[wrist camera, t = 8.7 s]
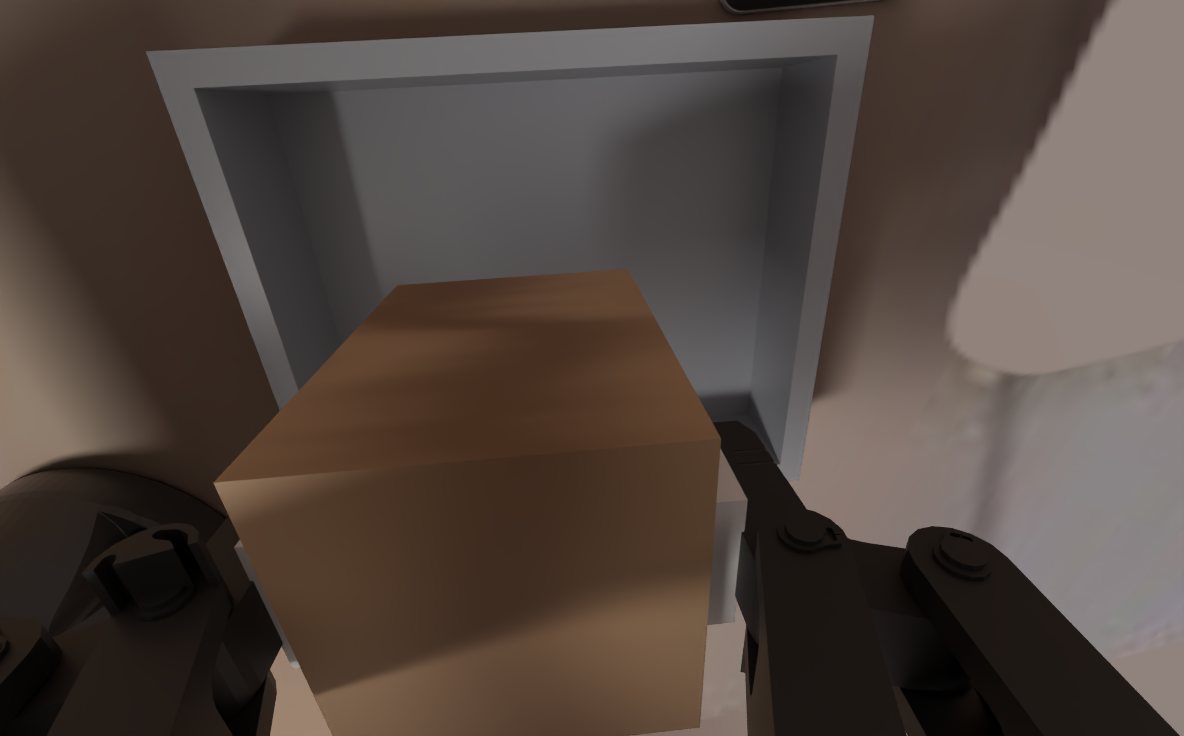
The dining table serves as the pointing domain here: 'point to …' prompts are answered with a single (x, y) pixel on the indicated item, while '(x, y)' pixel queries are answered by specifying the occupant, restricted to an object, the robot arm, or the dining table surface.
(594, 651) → the walnut block
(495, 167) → the grey bin
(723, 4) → the smartphone
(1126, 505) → the dining table surface
